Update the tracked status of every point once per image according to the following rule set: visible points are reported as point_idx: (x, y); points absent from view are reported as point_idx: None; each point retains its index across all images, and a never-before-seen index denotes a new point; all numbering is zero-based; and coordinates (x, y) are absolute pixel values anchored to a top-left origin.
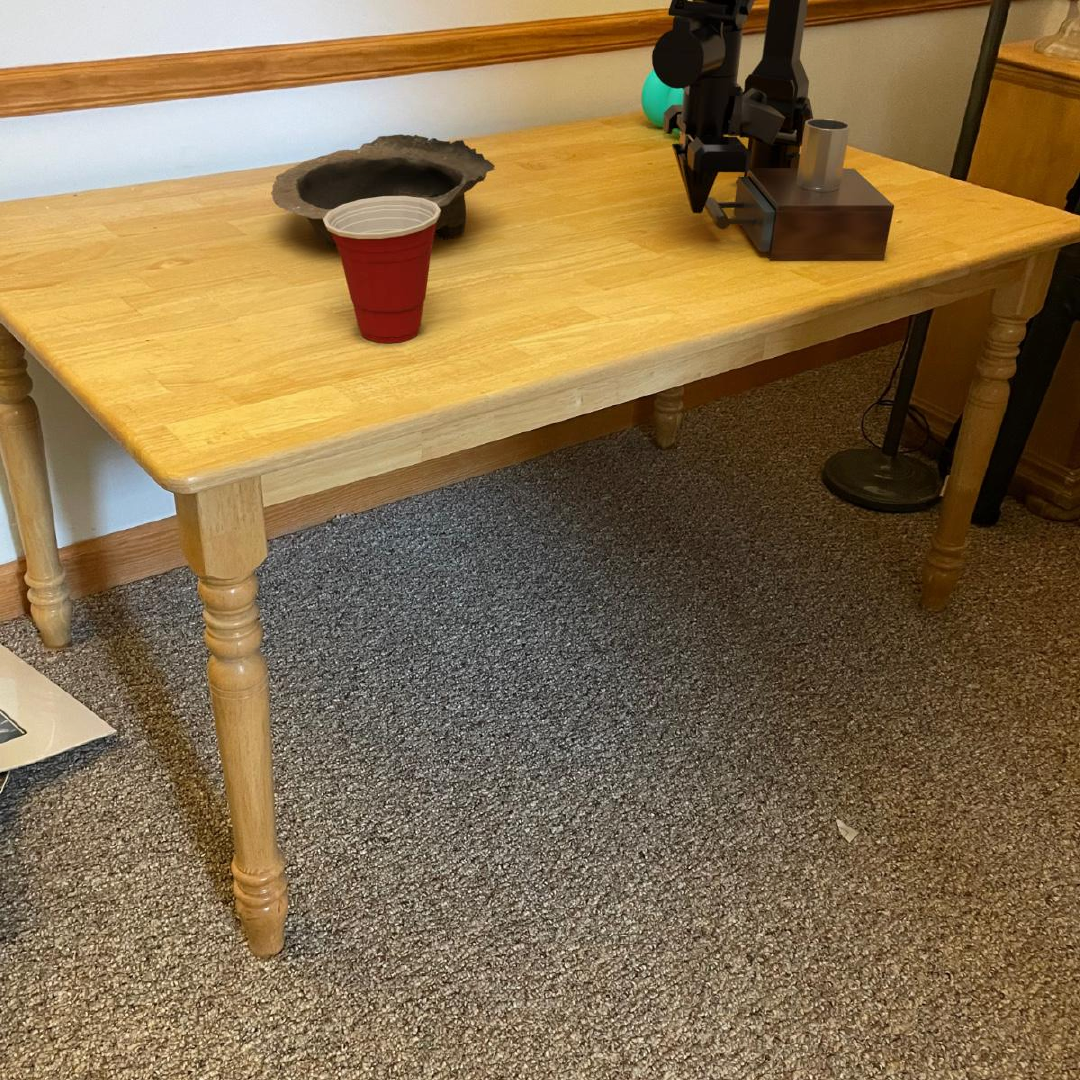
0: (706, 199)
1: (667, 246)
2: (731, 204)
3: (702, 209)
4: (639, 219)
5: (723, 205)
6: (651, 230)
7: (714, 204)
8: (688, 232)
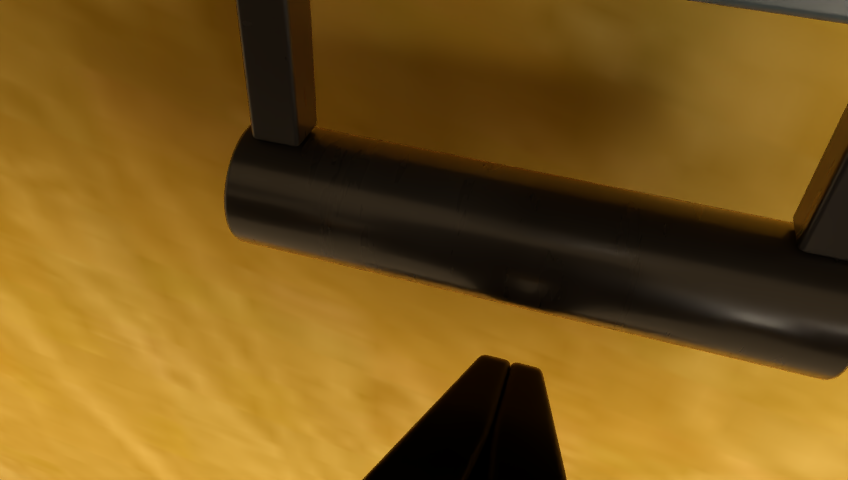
0: (562, 477)
1: (620, 394)
2: (294, 11)
3: (544, 393)
4: (198, 335)
5: (303, 90)
6: (357, 355)
7: (446, 278)
8: None
